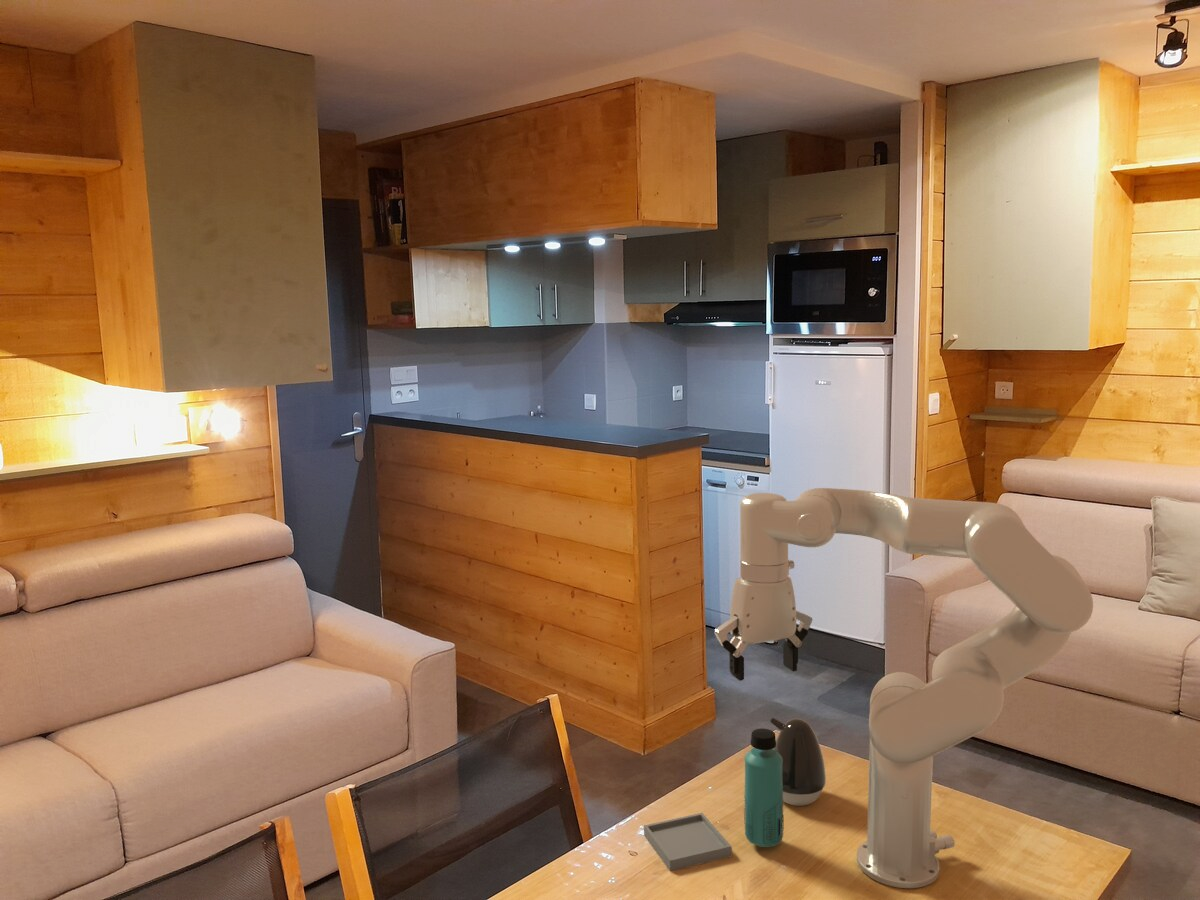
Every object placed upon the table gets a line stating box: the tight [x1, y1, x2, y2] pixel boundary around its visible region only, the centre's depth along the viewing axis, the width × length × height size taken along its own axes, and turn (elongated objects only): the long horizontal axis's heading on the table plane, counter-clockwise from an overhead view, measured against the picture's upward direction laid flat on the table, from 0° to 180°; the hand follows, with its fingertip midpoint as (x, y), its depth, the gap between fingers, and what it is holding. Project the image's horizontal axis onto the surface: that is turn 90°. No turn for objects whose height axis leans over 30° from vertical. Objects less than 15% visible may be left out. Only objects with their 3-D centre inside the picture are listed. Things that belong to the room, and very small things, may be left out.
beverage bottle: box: [743, 728, 785, 848], centre depth 154 cm, size 6×7×20 cm
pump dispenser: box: [769, 717, 827, 807], centre depth 169 cm, size 10×10×15 cm
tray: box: [643, 812, 732, 872], centre depth 155 cm, size 11×11×2 cm
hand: (764, 672), depth 151 cm, fingers open, 9 cm apart
